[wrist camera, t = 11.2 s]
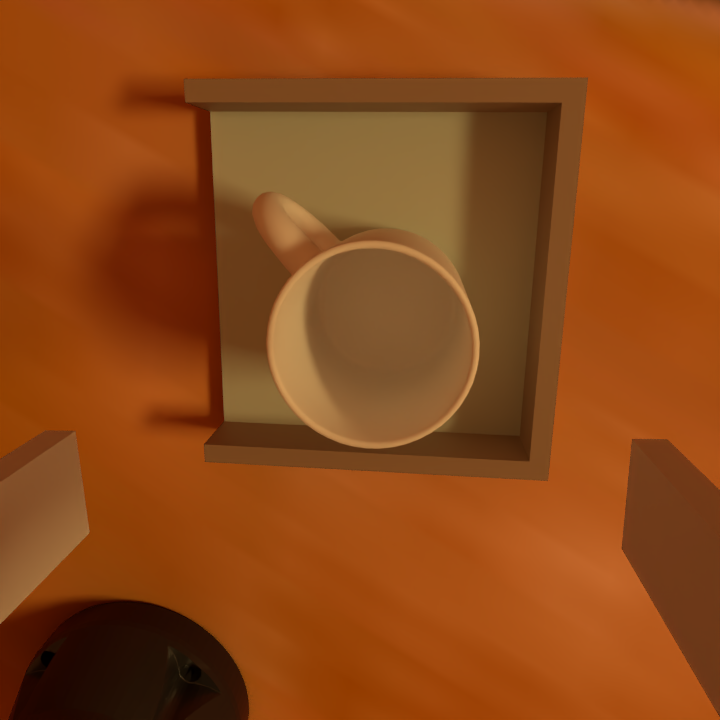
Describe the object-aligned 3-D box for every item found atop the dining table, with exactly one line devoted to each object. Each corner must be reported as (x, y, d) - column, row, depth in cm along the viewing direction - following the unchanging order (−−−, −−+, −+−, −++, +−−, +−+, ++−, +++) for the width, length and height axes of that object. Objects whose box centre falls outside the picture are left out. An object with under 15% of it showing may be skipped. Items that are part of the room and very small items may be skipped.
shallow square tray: (230, 431, 38) (205, 461, 34) (215, 93, 33) (183, 78, 29) (533, 446, 36) (548, 480, 32) (565, 93, 31) (587, 77, 27)
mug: (233, 247, 34) (155, 268, 24) (345, 137, 32) (308, 111, 22) (381, 406, 36) (363, 488, 26) (496, 311, 34) (525, 360, 24)
